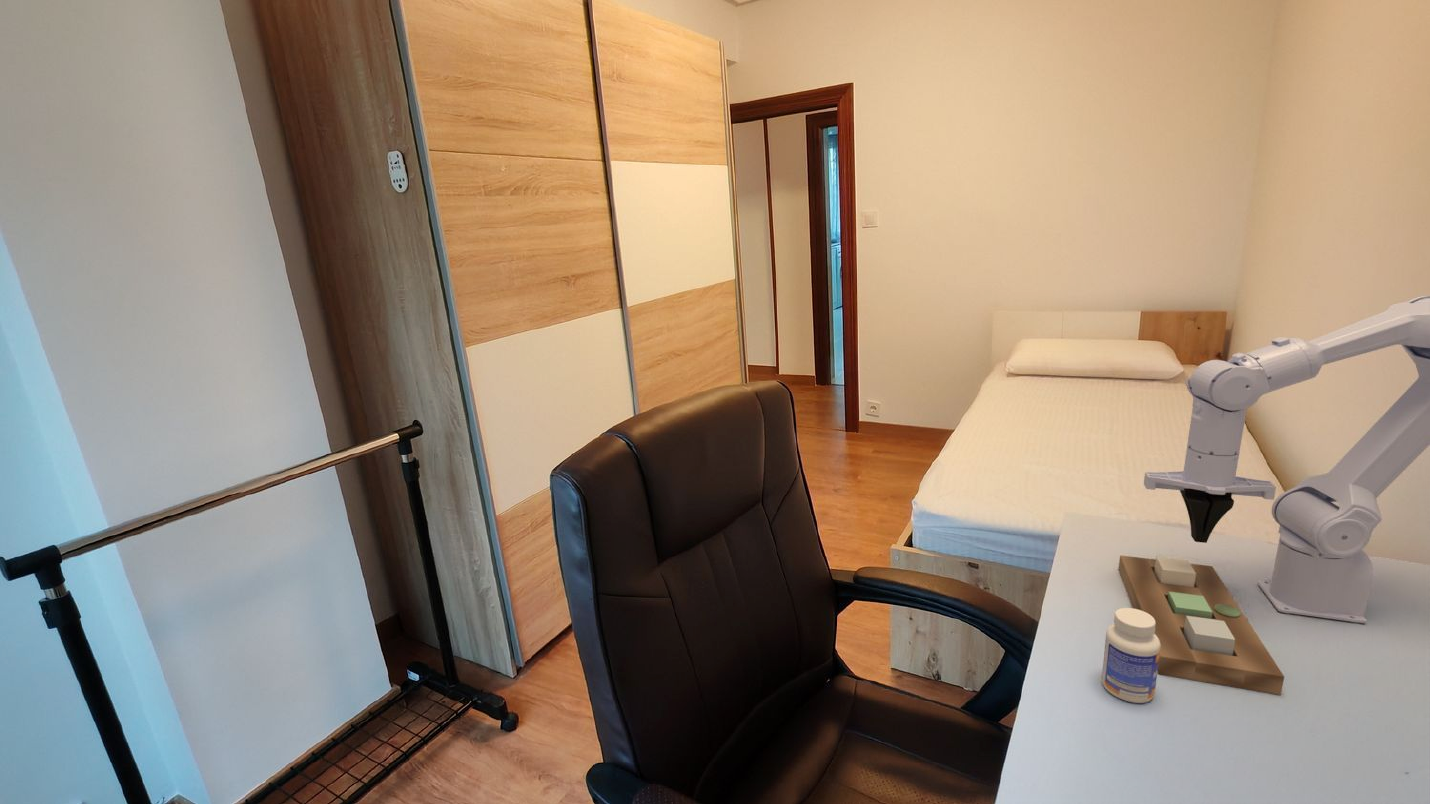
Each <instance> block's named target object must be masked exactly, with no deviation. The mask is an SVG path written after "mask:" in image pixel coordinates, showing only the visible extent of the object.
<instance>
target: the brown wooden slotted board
mask: <svg viewBox="0 0 1430 804" xmlns="http://www.w3.org/2000/svg"><path fill="white" fill-rule="evenodd" d="M1155 561H1156V558H1155V559H1154V558H1145V557H1139V556H1137V557H1136V556H1130V555H1119V563H1118V572H1119V575H1120V578H1121V581H1122V583H1123V585H1124V588H1125V591H1126V593H1127V596H1128V599H1129V601H1130V603H1131V607H1132V608H1133V609H1138V610H1141V611H1144V612H1146V613H1148V614H1149V615H1151V616H1152V617H1153V618H1154V619H1155V622H1156V625H1155V633H1154V634H1155V635H1156V636H1157V637H1158V639H1159V640H1160V644H1161V647H1160V656H1159V664H1158V671H1157V675H1162V676H1169V677H1173V678H1179V679H1185V680H1186V679H1187V680H1192V681H1196V682H1197V681H1198V682H1202V683H1210V684H1215V685H1219V686H1227V687H1233V688H1238V689H1244V690H1248V691H1249V690H1250V691H1256V692H1260V693H1261V692H1262V693H1267V694H1272V695H1278V696H1281V694H1282V692H1283V691H1282V689H1283V687H1284V686H1283V685H1284V680H1285V675H1284V673H1282V670H1281V669H1280V668H1279V666H1278V665H1277V663H1276V661H1275V659H1273V657H1272V656H1271V654H1270V652H1269V650H1267V648H1266V646H1265V644H1264V643H1263V641H1262V640H1261V639H1260V637H1259V635H1258V634H1257V631H1255V629H1254V628H1253V626H1252V625H1251V623H1250V622H1249V619H1248V618H1247V617H1246V616H1245V614H1244V613H1243V611H1242V609H1241V608H1240V606H1239V605H1238V603H1237V602H1236V600H1235V598H1234V597H1233V595H1232V594H1231V593H1230V591H1229V589H1228V588H1227V587H1226V585H1225V583H1224V582H1223V580H1222V578H1221V577H1220V575H1219V574H1218V573H1217V571H1216V570H1215V568H1214V566H1212V565H1205V564H1198V563H1190V564H1191V566H1192V568H1193V569H1194V571H1195V573H1196V577H1195V583H1194V587H1187V586H1180V585H1172V584H1164V583H1158V581H1157V579H1156V576H1155V574H1154V569H1155ZM1169 592H1176V593H1183V594H1191V595H1198V596H1204V598H1205V600H1206V602H1207V603H1208V605H1209V607H1210V609H1211V610H1212V612H1213V613H1212V619H1213V620H1220V621H1224V622H1225V623H1226V625H1227V627H1228V628H1229V630H1230V632H1231V633H1232V635H1233V637H1234V638H1235V644H1234V650H1233V655H1232V656H1230V655H1224V654H1218V653H1211V652H1205V651H1199V650H1192V649H1190V648H1189V646H1188V644H1187V641H1186V639H1185V637H1184V635H1183V633H1184V626H1185V620H1186V616H1189V615H1182V614H1175V613H1173V612H1172V610H1171V608H1170V606H1169V604H1168V602H1167V601H1168V594H1169ZM1192 617H1196V616H1192ZM1199 618H1203V617H1199ZM1206 619H1210V618H1206Z"/></svg>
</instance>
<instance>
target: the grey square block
mask: <svg viewBox="0 0 1430 804" xmlns="http://www.w3.org/2000/svg"><path fill="white" fill-rule="evenodd" d="M1183 635H1184V637H1185V639H1186V641H1187V644H1188V646H1189V648H1190V649H1192V650H1199V651H1205V652H1211V653H1218V654H1224V655H1230V656H1232V655H1233V650H1234V644H1235V638H1234V637H1233V635H1232V633H1231V632H1230V630H1229V628H1228V627H1227V625H1226V623H1225V622H1224V621H1220V620H1213V619H1206V618H1199V617H1192V616H1186V620H1185V626H1184V633H1183Z"/></svg>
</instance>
